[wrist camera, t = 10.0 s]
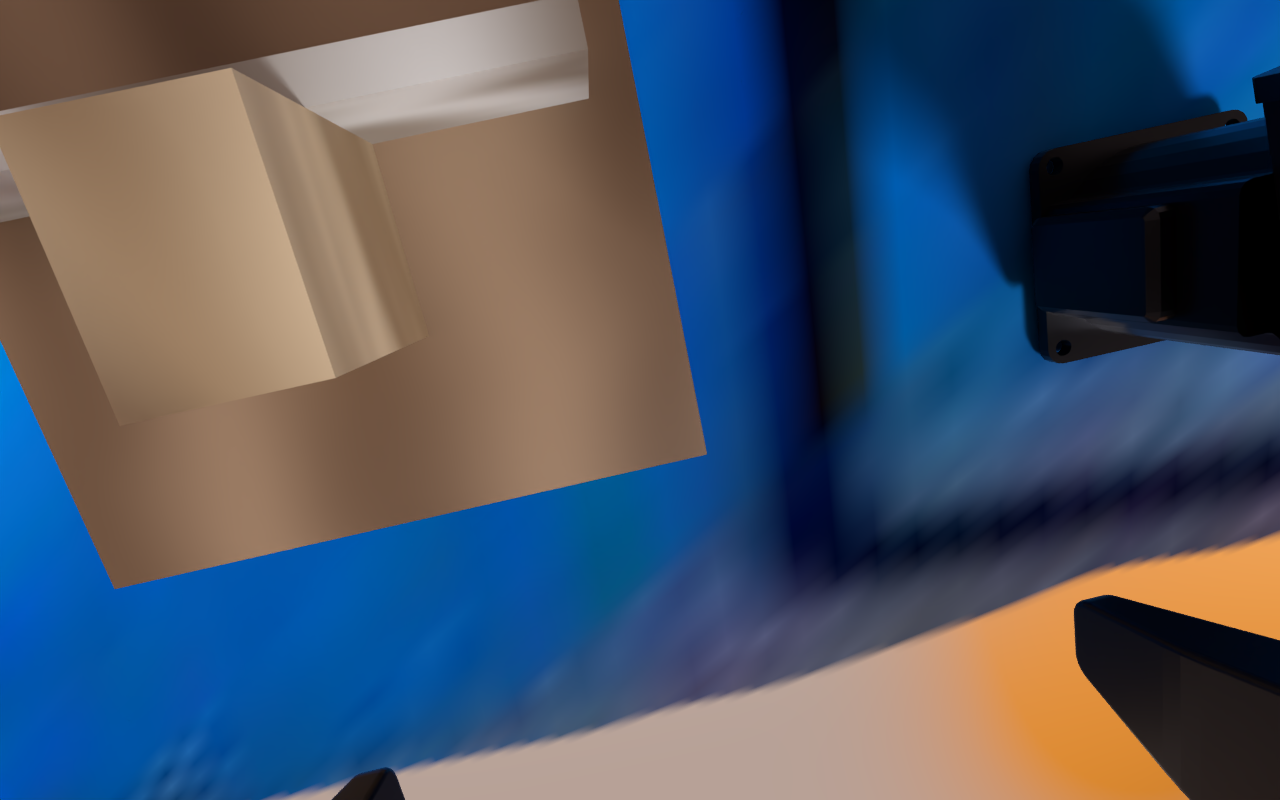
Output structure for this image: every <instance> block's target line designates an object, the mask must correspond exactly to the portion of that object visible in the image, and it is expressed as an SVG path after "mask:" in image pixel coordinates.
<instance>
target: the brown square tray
mask: <svg viewBox="0 0 1280 800" xmlns="http://www.w3.org/2000/svg"><path fill="white" fill-rule="evenodd" d="M534 1H538V0H0V111H3V110H8V109H13V108H18V107H23V106H27V105H32V104H37V103H42V102H47V101H52V100H57V99H61V98H66V97H71V96H76V95H81V94H86V93H91V92H96V91H100V90H105V89H110V88H115V87H120V86H125V85H130V84H134V83H139V82H144V81H149V80H154V79H159V78H164V77H169V76H173V75H178V74H183V73H188V72H193V71H198V70H203V69H207V68H212V67H217V66H222V65H227V64H232V63H237V62H242V61H246V60H251V59H256V58H261V57H266V56H271V55H276V54H280V53H285V52H290V51H295V50H300V49H305V48H310V47H315V46H319V45H324V44H329V43H334V42H339V41H344V40H349V39H353V38H358V37H363V36H368V35H373V34H378V33H383V32H388V31H392V30H397V29H402V28H407V27H412V26H417V25H422V24H426V23H431V22H436V21H441V20H446V19H451V18H456V17H461V16H465V15H470V14H475V13H480V12H485V11H490V10H495V9H499V8H504V7H509V6H514V5H519V4H524V3H529V2H534ZM578 3H579V8H580V13H581V18H582V22H583V27H584V32H585V37H586V42H587V46H588V79H589V99H584V100H580V101H575V102H570V103H565V104H561V105H556V106H551V107H546V108H542V109H537V110H532V111H527V112H523V113H518V114H513V115H508V116H504V117H499V118H494V119H489V120H485V121H480V122H475V123H470V124H466V125H461V126H456V127H451V128H447V129H442V130H437V131H432V132H428V133H423V134H418V135H413V136H409V137H404V138H399V139H394V140H390V141H385V142H380V143H375V144H373V148H374V151H375V154H376V158H377V161H378V165H379V168H380V171H381V175H382V178H383V182H384V185H385V188H386V192H387V195H388V199H389V202H390V205H391V209H392V212H393V216H394V219H395V222H396V226H397V229H398V233H399V236H400V239H401V243H402V246H403V250H404V253H405V256H406V260H407V263H408V266H409V270H410V273H411V277H412V280H413V283H414V287H415V290H416V294H417V297H418V300H419V304H420V307H421V311H422V314H423V317H424V321H425V324H426V328H427V331H428V334H429V336H428V337H425V338H423V339H421V340H419V341H417V342H414V343H412V344H410V345H408V346H406V347H403V348H401V349H399V350H397V351H394V352H392V353H390V354H388V355H386V356H383V357H381V358H379V359H377V360H375V361H372V362H370V363H368V364H366V365H363V366H361V367H359V368H357V369H355V370H352V371H350V372H348V373H346V374H343V375H341V376H339V377H337V378H334V379H329V380H324V381H320V382H315V383H311V384H306V385H302V386H297V387H293V388H288V389H284V390H279V391H275V392H270V393H266V394H261V395H257V396H252V397H248V398H243V399H239V400H234V401H230V402H225V403H220V404H216V405H211V406H207V407H202V408H198V409H193V410H189V411H184V412H180V413H175V414H171V415H166V416H162V417H157V418H153V419H148V420H144V421H139V422H135V423H130V424H126V425H121V426H120V425H119V423H118V421H117V419H116V416H115V414H114V412H113V409H112V407H111V405H110V402H109V400H108V398H107V395H106V393H105V391H104V388H103V386H102V384H101V381H100V379H99V377H98V374H97V372H96V370H95V367H94V365H93V363H92V360H91V358H90V356H89V353H88V351H87V349H86V346H85V344H84V342H83V339H82V337H81V335H80V332H79V330H78V328H77V325H76V323H75V321H74V318H73V316H72V314H71V311H70V309H69V307H68V304H67V302H66V300H65V297H64V295H63V293H62V290H61V288H60V286H59V283H58V281H57V279H56V276H55V274H54V272H53V269H52V267H51V265H50V262H49V260H48V258H47V255H46V253H45V251H44V249H43V246H42V244H41V242H40V239H39V237H38V235H37V232H36V230H35V228H34V225H33V223H32V221H31V218H30V216H29V217H24V218H19V219H15V220H10V221H5V222H0V341H1V343H2V345H3V347H4V349H5V352H6V354H7V356H8V358H9V360H10V362H11V365H12V367H13V369H14V371H15V373H16V376H17V378H18V380H19V382H20V384H21V386H22V389H23V391H24V393H25V395H26V397H27V399H28V402H29V404H30V406H31V408H32V410H33V412H34V415H35V417H36V419H37V421H38V423H39V426H40V428H41V430H42V432H43V434H44V436H45V439H46V441H47V443H48V445H49V447H50V449H51V452H52V454H53V456H54V458H55V460H56V462H57V465H58V467H59V469H60V471H61V473H62V475H63V478H64V480H65V482H66V484H67V486H68V489H69V491H70V493H71V495H72V497H73V499H74V502H75V504H76V506H77V508H78V510H79V512H80V515H81V517H82V519H83V521H84V523H85V525H86V528H87V530H88V532H89V534H90V536H91V539H92V541H93V543H94V545H95V547H96V549H97V552H98V554H99V556H100V558H101V560H102V562H103V565H104V567H105V569H106V571H107V573H108V575H109V578H110V580H111V582H112V584H113V586H114V588H115V589H117V588H121V587H126V586H130V585H135V584H139V583H143V582H148V581H152V580H157V579H161V578H165V577H170V576H174V575H179V574H183V573H187V572H192V571H196V570H201V569H205V568H209V567H214V566H218V565H223V564H227V563H231V562H236V561H240V560H244V559H249V558H253V557H258V556H262V555H266V554H271V553H275V552H280V551H284V550H288V549H293V548H297V547H302V546H306V545H310V544H315V543H319V542H324V541H328V540H332V539H337V538H341V537H346V536H350V535H354V534H359V533H363V532H368V531H372V530H376V529H381V528H385V527H390V526H394V525H398V524H403V523H407V522H411V521H416V520H420V519H425V518H429V517H433V516H438V515H442V514H447V513H451V512H455V511H460V510H464V509H469V508H473V507H477V506H482V505H486V504H491V503H495V502H499V501H504V500H508V499H513V498H517V497H521V496H526V495H530V494H535V493H539V492H543V491H548V490H552V489H557V488H561V487H565V486H570V485H574V484H578V483H583V482H587V481H592V480H596V479H600V478H605V477H609V476H614V475H618V474H622V473H627V472H631V471H636V470H640V469H644V468H649V467H653V466H658V465H662V464H666V463H671V462H675V461H680V460H684V459H688V458H693V457H697V456H702V455H706V454H707V452H706V447H705V442H704V437H703V431H702V426H701V421H700V416H699V411H698V406H697V401H696V395H695V390H694V385H693V380H692V375H691V370H690V365H689V360H688V354H687V349H686V344H685V339H684V334H683V329H682V324H681V318H680V313H679V308H678V303H677V298H676V293H675V288H674V283H673V277H672V272H671V267H670V262H669V257H668V252H667V247H666V241H665V236H664V231H663V226H662V221H661V216H660V211H659V206H658V200H657V195H656V190H655V185H654V180H653V175H652V170H651V164H650V159H649V154H648V149H647V144H646V139H645V134H644V129H643V123H642V118H641V113H640V108H639V103H638V98H637V93H636V87H635V82H634V77H633V72H632V67H631V62H630V57H629V52H628V46H627V41H626V36H625V31H624V26H623V21H622V16H621V10H620V5H619V0H578Z"/></svg>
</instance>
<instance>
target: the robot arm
mask: <svg viewBox="0 0 1280 800" xmlns="http://www.w3.org/2000/svg"><path fill="white" fill-rule="evenodd" d="M1252 81H1253V87H1254V94H1255V101H1256V104H1258V103H1263V108H1264V115H1265V117H1264V118H1259V119H1255V120H1250V121H1247V117H1246V116H1245V114H1244V113H1243V112H1241V111H1239V110H1230V111H1225V112H1221V113H1216V114H1211V115H1207V116H1202V117H1197V118H1193V119H1188V120H1184V121H1179V122H1174V123H1170V124H1165V125H1160V126H1156V127H1151V128H1147V129H1142V130H1137V131H1133V132H1128V133H1124V134H1119V135H1114V136H1110V137H1105V138H1100V139H1096V140H1091V141H1087V142H1082V143H1077V144H1073V145H1068V146H1063V147H1059V148H1054V149H1050V150H1046V151H1043V152H1041V153H1038V154H1037V155H1036V156H1035V157H1034V158H1033V160H1032V162H1031V164H1030V169H1029V178H1030V195H1031V212H1032V229H1031V232H1032V249H1033V267H1034V284H1035V301H1036V305H1037V317H1038V334H1039V350H1040V354H1041V356H1042V357H1043V358H1044V359H1045V360H1048V361H1051V362H1055V363H1067V362H1071V361H1076V360H1080V359H1084V358H1089V357H1093V356H1098V355H1102V354H1106V353H1111V352H1115V351H1120V350H1124V349H1128V348H1133V347H1137V346H1142V345H1146V344H1150V343H1155V342H1159V341H1164V340H1170V341H1178V342H1185V343H1193V344H1200V345H1208V346H1215V347H1222V348H1230V349H1237V350H1245V351H1252V352H1260V353H1267V354H1275V355H1280V66H1279V67H1276V68H1274V69H1272V70H1269V71H1267V72H1264V73H1262V74H1260V75H1257V76H1255V77H1253V78H1252ZM1225 124H1226V126H1225ZM1049 160H1050V161H1051V162H1052V164H1053V171H1052V173H1051V174H1049V173H1048V171H1047V163H1048V162H1049ZM1060 341H1061V343H1062V347H1061V349H1060V351H1059V352H1056V346H1057V344H1058V343H1059V342H1060ZM1074 624H1075V646H1076V657H1077V661H1078V664H1079V666H1080V668H1081V670H1082V671H1083V673H1084V675H1085V676H1086V677H1087V679H1088V680H1089V681H1090V682H1091V683H1092V685H1093V686H1094V687H1095V688H1096V690H1097V691H1098V692H1099V693H1100V694H1101V696H1102V697H1103V698H1104V699H1105V700H1106V702H1107V703H1108V704H1109V705H1110V706H1111V708H1112V709H1113V710H1114V711H1115V712H1116V714H1117V715H1118V716H1119V717H1120V718H1121V720H1122V721H1123V722H1124V723H1125V724H1126V726H1127V727H1128V728H1129V729H1130V731H1131V732H1132V733H1133V734H1134V735H1135V736H1136V738H1137V739H1138V740H1139V741H1140V743H1141V744H1142V745H1143V746H1144V747H1145V749H1146V750H1147V751H1148V752H1149V753H1150V755H1151V756H1152V757H1153V758H1154V759H1155V761H1156V762H1157V763H1158V764H1159V765H1160V767H1161V768H1162V769H1163V770H1164V771H1165V773H1166V774H1167V775H1168V776H1169V777H1170V778H1171V779H1172V781H1173V782H1174V783H1175V784H1176V785H1177V786H1178V787H1179V789H1180V790H1181V791H1182V792H1183V793H1184V794H1185V795H1186V796H1187V797H1188V798H1189V799H1190V800H1280V640H1276V639H1273V638H1269V637H1265V636H1261V635H1258V634H1254V633H1250V632H1247V631H1243V630H1239V629H1236V628H1232V627H1228V626H1224V625H1221V624H1217V623H1213V622H1209V621H1206V620H1202V619H1199V618H1195V617H1191V616H1187V615H1184V614H1180V613H1176V612H1173V611H1169V610H1165V609H1161V608H1158V607H1154V606H1151V605H1147V604H1143V603H1139V602H1136V601H1132V600H1128V599H1124V598H1120V597H1117V596H1113V595H1103V596H1098V597H1094V598H1090V599H1086V600H1082V601H1080V602H1079V603H1077V604H1076V606H1075V608H1074ZM332 800H405V798H404V795H403V793H402V790H401V787H400V785H399V782H398V779H397V776H396V775H395V773H394V771H393V770H392V769H390V768H387V767H386V768H380V769H376V770H372V771H368V772H364V773H361V774H358V775H356V776H355V777H354V778H353V779H352V780H351V781H350V782H349V783H348V784H347V785H346V786H345V787H344V788H343V789H342V790H341V791H340V792H339V793H338V794H337V795H336V796H335V797H334V798H333V799H332Z"/></svg>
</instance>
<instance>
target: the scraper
mask: <svg viewBox="0 0 1280 800" xmlns="http://www.w3.org/2000/svg"><path fill="white" fill-rule="evenodd" d="M584 99H589V79H588V46H587V42H586V37H585V32H584V27H583V22H582V18H581V13H580V8H579V3H578V0H538V1H534V2H529V3H524V4H519V5H514V6H509V7H504V8H499V9H495V10H490V11H485V12H480V13H475V14H470V15H465V16H461V17H456V18H451V19H446V20H441V21H436V22H431V23H426V24H422V25H417V26H412V27H407V28H402V29H397V30H392V31H388V32H383V33H378V34H373V35H368V36H363V37H358V38H353V39H349V40H344V41H339V42H334V43H329V44H324V45H319V46H315V47H310V48H305V49H300V50H295V51H290V52H285V53H280V54H276V55H271V56H266V57H261V58H256V59H251V60H246V61H242V62H237V63H232V64H227V65H222V66H217V67H212V68H207V69H203V70H198V71H193V72H188V73H183V74H178V75H173V76H169V77H164V78H159V79H154V80H149V81H144V82H139V83H134V84H130V85H125V86H120V87H115V88H110V89H105V90H100V91H96V92H91V93H86V94H81V95H76V96H71V97H66V98H61V99H57V100H52V101H47V102H42V103H37V104H32V105H27V106H23V107H18V108H13V109H8V110H3V111H0V222H5V221H10V220H15V219H19V218H24V217H29V216H30V218H31V221H32V223H33V225H34V228H35V230H36V232H37V235H38V237H39V239H40V242H41V244H42V246H43V249H44V251H45V253H46V255H47V258H48V260H49V262H50V265H51V267H52V269H53V272H54V274H55V276H56V279H57V281H58V283H59V286H60V288H61V290H62V293H63V295H64V297H65V300H66V302H67V304H68V307H69V309H70V311H71V314H72V316H73V318H74V321H75V323H76V325H77V328H78V330H79V332H80V335H81V337H82V339H83V342H84V344H85V346H86V349H87V351H88V353H89V356H90V358H91V360H92V363H93V365H94V367H95V370H96V372H97V374H98V377H99V379H100V381H101V384H102V386H103V388H104V391H105V393H106V395H107V398H108V400H109V402H110V405H111V407H112V409H113V412H114V414H115V416H116V419H117V421H118V423H119V425H120V426H121V425H126V424H130V423H135V422H139V421H144V420H148V419H153V418H157V417H162V416H166V415H171V414H175V413H180V412H184V411H189V410H193V409H198V408H202V407H207V406H211V405H216V404H220V403H225V402H230V401H234V400H239V399H243V398H248V397H252V396H257V395H261V394H266V393H270V392H275V391H279V390H284V389H288V388H293V387H297V386H302V385H306V384H311V383H315V382H320V381H324V380H329V379H334V378H337V377H339V376H341V375H343V374H346V373H348V372H350V371H352V370H355V369H357V368H359V367H361V366H363V365H366V364H368V363H370V362H372V361H375V360H377V359H379V358H381V357H383V356H386V355H388V354H390V353H392V352H394V351H397V350H399V349H401V348H403V347H406V346H408V345H410V344H412V343H414V342H417V341H419V340H421V339H423V338H425V337H428V336H429V334H428V331H427V328H426V324H425V321H424V317H423V314H422V311H421V307H420V304H419V300H418V297H417V294H416V290H415V287H414V283H413V280H412V277H411V273H410V270H409V266H408V263H407V260H406V256H405V253H404V250H403V246H402V243H401V239H400V236H399V233H398V229H397V226H396V222H395V219H394V216H393V212H392V209H391V205H390V202H389V199H388V195H387V192H386V188H385V185H384V182H383V178H382V175H381V171H380V168H379V165H378V161H377V158H376V154H375V151H374V148H373V144H375V143H380V142H385V141H390V140H394V139H399V138H404V137H409V136H413V135H418V134H423V133H428V132H432V131H437V130H442V129H447V128H451V127H456V126H461V125H466V124H470V123H475V122H480V121H485V120H489V119H494V118H499V117H504V116H508V115H513V114H518V113H523V112H527V111H532V110H537V109H542V108H546V107H551V106H556V105H561V104H565V103H570V102H575V101H580V100H584Z"/></svg>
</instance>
